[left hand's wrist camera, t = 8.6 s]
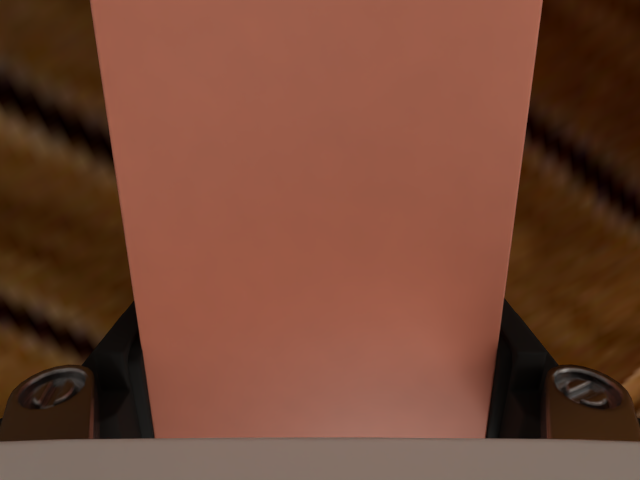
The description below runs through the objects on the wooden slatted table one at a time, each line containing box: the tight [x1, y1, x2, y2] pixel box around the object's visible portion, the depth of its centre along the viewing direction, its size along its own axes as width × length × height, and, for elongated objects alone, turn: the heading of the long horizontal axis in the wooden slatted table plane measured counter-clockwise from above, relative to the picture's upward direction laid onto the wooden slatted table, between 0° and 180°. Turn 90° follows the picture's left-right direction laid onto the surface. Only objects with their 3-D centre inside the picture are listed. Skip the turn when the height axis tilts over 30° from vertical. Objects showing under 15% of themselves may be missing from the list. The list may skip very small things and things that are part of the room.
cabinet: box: [90, 0, 543, 438], centre depth 11 cm, size 20×6×9 cm, turn 0°
